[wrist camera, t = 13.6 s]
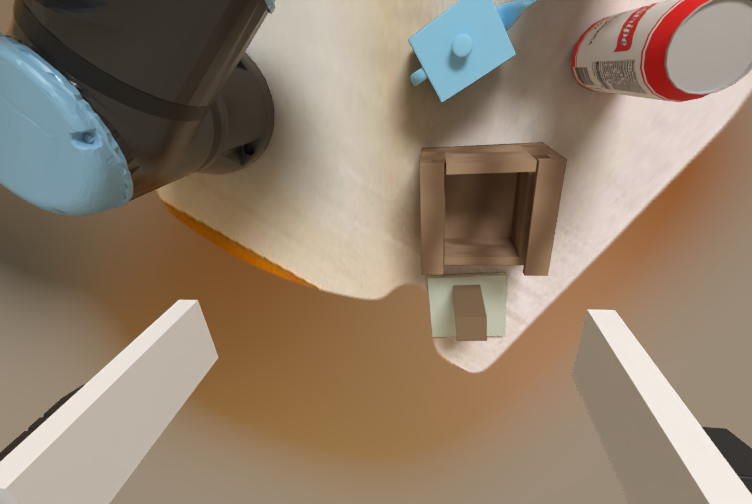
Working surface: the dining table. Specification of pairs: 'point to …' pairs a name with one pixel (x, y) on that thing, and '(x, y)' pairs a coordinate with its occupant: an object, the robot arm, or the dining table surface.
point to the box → (489, 205)
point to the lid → (468, 305)
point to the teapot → (465, 44)
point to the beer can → (667, 50)
